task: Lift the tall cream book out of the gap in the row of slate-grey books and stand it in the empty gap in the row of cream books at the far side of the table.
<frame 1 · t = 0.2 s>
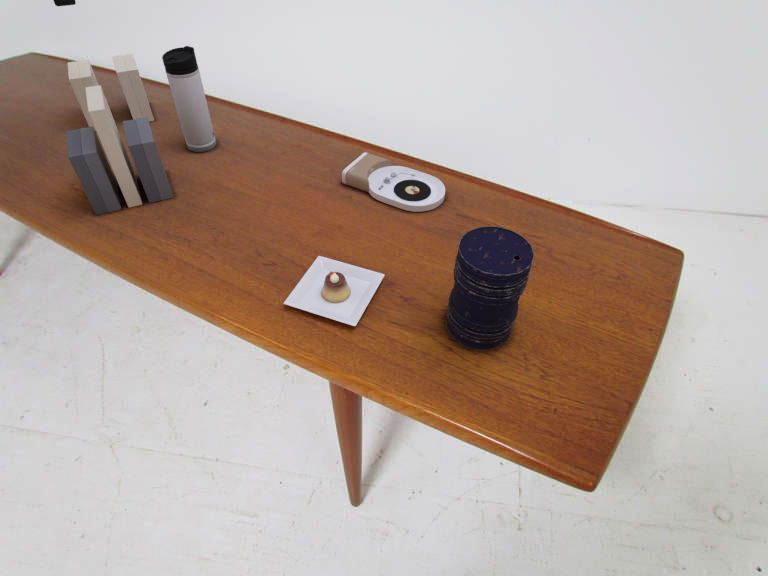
dessert: (336, 294, 79), on the table
cream book: (132, 192, 97), on the table
dark blue barrel: (478, 325, 75), on the table
white books: (121, 117, 119), on the table
record player: (396, 189, 100), on the table
grey books: (132, 192, 97), on the table
travel mug: (202, 146, 111), on the table
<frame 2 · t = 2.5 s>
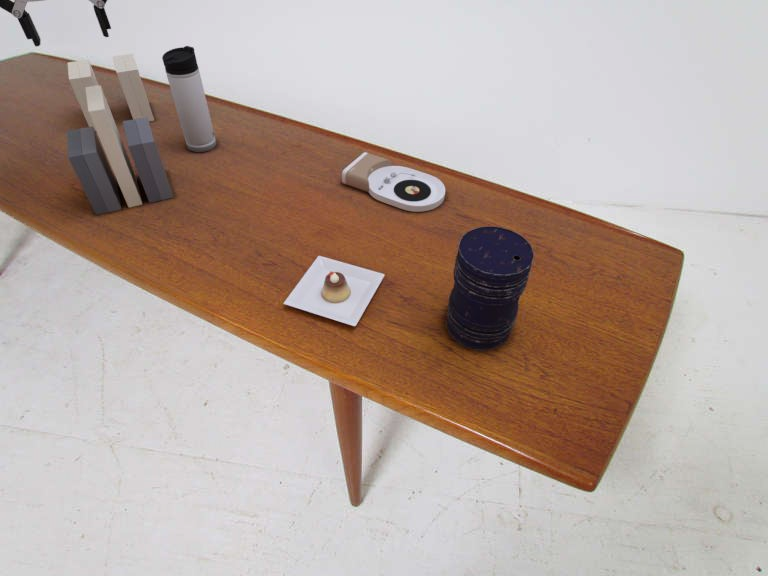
hand: (72, 38, 77), 28 cm above the table, tool pointing down, fingers open, 9 cm apart
nothing on the table moved.
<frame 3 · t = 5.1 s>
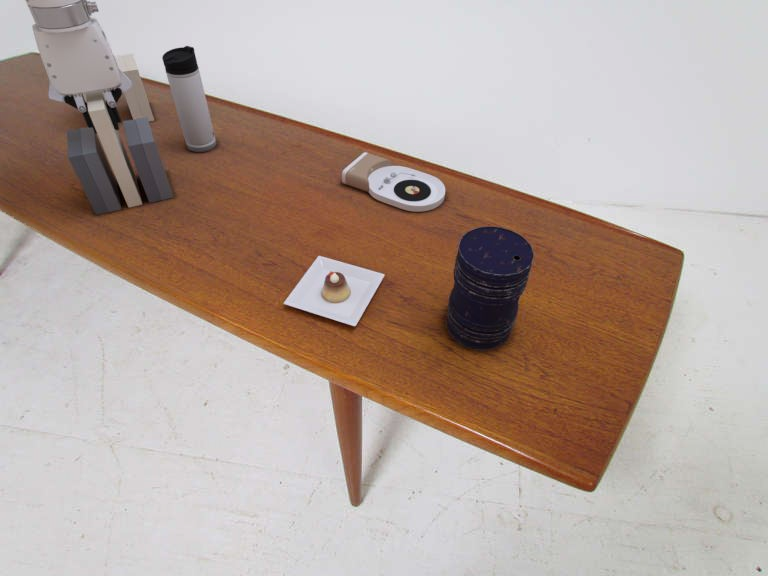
hand: (106, 127, 88), 14 cm above the table, tool pointing down, fingers closed on cream book, 2 cm apart
cream book: (132, 192, 97), on the table, touching gripper
everything else where it was.
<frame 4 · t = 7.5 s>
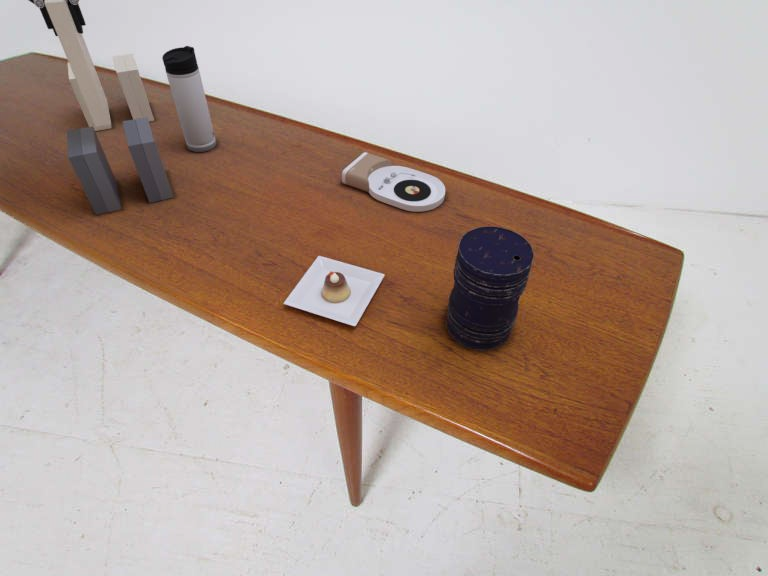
hand: (69, 31, 78), 29 cm above the table, tool pointing down, fingers closed on cream book, 2 cm apart
cream book: (101, 113, 88), point 15 cm above the table, touching gripper
everything else where it was.
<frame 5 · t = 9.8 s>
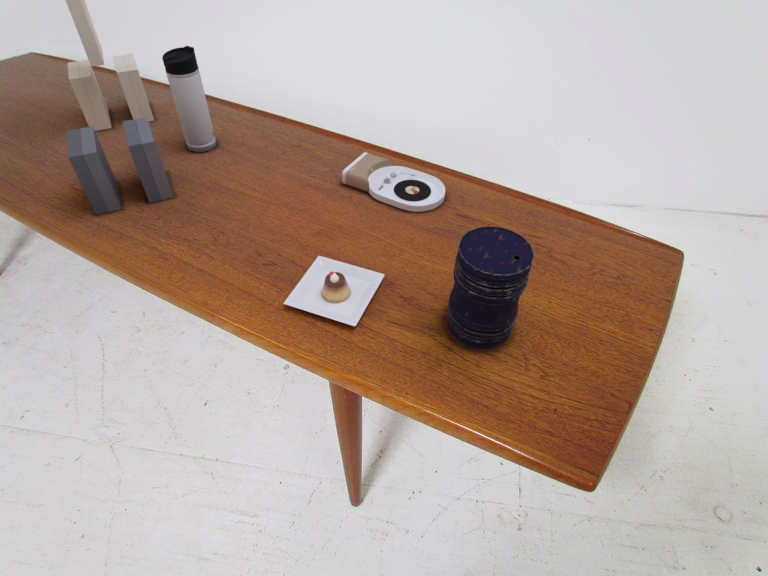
cream book: (96, 57, 105), point 16 cm above the table, touching gripper
everything else where it was.
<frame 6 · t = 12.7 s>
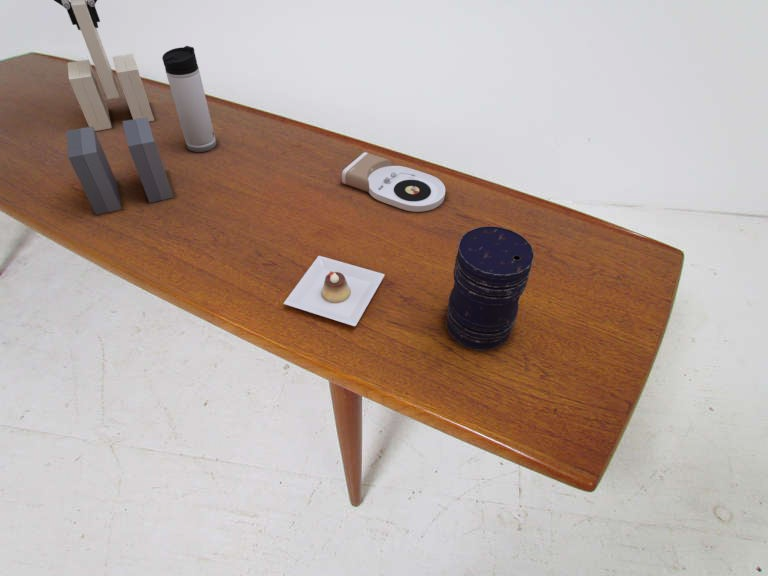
hand: (87, 26, 105), 20 cm above the table, tool pointing down, fingers closed on cream book, 2 cm apart
cream book: (111, 89, 114), point 7 cm above the table, touching gripper
everything else where it was.
when the fingers open (14 cm above the table, at t = 14.7 s): cream book stays where it is, on the table.
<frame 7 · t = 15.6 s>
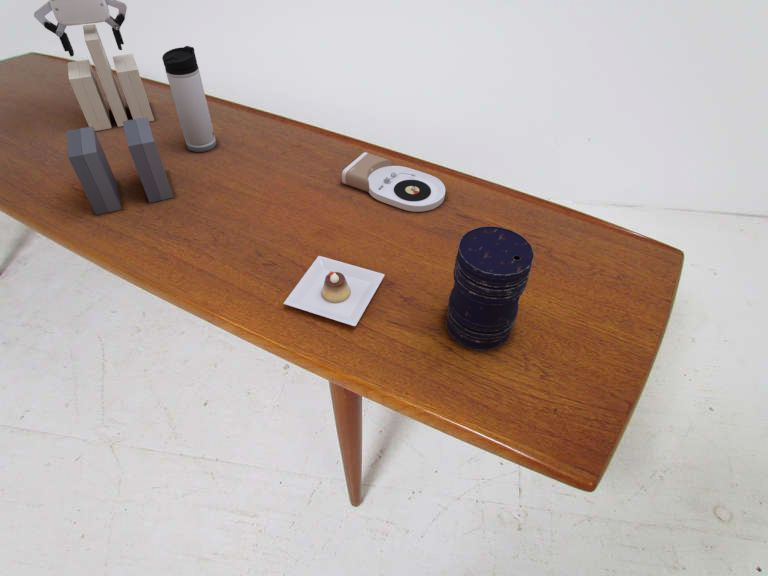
hand: (96, 51, 108), 15 cm above the table, tool pointing down, fingers open, 9 cm apart
cream book: (121, 116, 119), on the table
everything else where it was.
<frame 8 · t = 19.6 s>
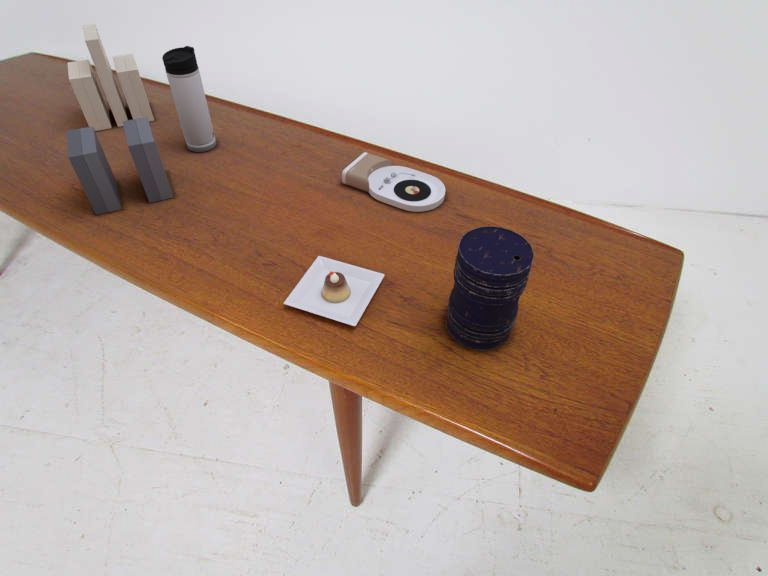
nothing on the table moved.
at the end: cream book 0.1 cm off-centre on the white books, point 0.0 cm above the white books's base; cream book tilted 0°; the gripper is holding nothing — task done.
